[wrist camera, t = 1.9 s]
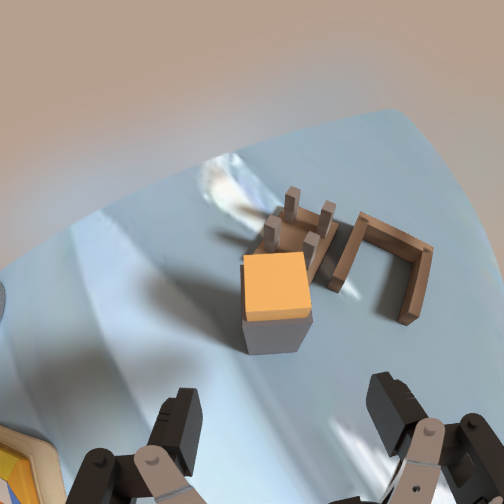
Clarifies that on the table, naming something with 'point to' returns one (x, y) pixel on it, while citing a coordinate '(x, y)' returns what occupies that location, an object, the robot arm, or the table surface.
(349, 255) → the end holder
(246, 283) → the grey orange block
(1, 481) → the wooden puzzle
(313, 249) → the four-pronged plate
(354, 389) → the table surface
